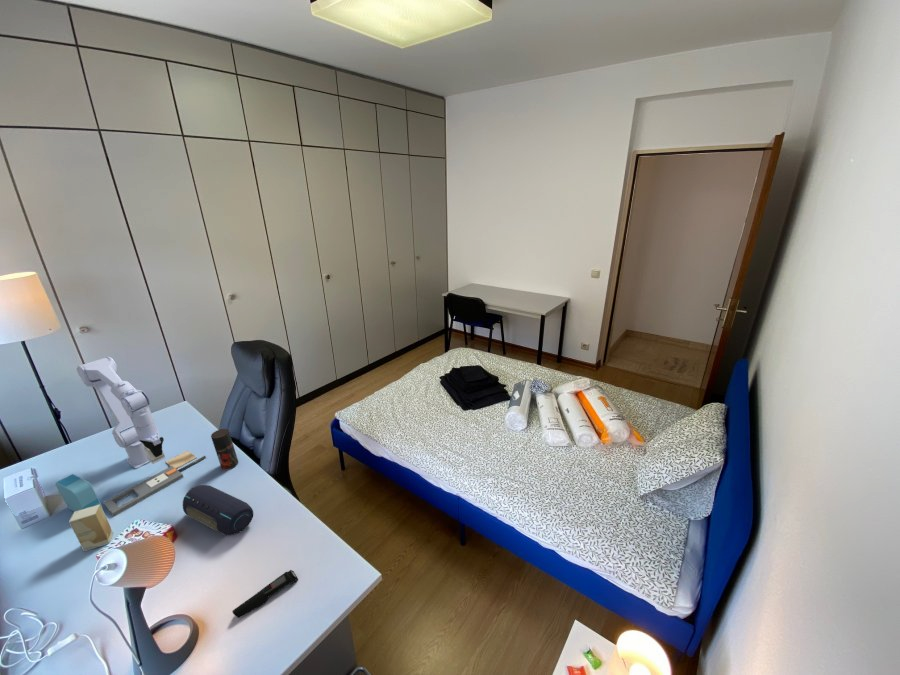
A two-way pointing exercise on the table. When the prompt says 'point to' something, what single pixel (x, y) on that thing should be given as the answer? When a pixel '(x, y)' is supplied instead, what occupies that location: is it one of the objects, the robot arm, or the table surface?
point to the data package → (77, 493)
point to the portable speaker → (217, 509)
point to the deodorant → (224, 449)
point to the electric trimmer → (265, 593)
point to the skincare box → (91, 527)
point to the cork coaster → (181, 459)
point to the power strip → (147, 488)
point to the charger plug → (152, 457)
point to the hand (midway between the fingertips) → (156, 453)
